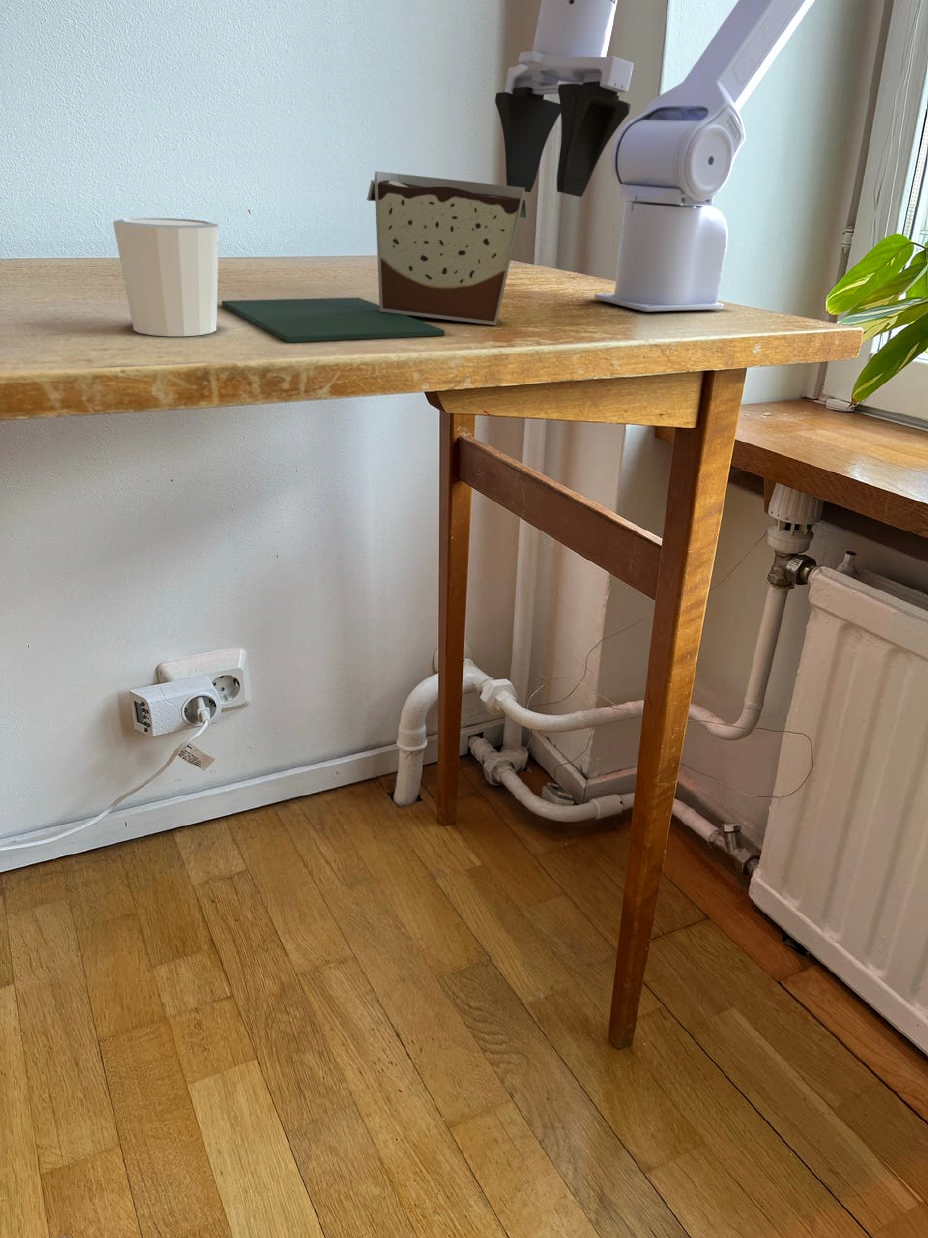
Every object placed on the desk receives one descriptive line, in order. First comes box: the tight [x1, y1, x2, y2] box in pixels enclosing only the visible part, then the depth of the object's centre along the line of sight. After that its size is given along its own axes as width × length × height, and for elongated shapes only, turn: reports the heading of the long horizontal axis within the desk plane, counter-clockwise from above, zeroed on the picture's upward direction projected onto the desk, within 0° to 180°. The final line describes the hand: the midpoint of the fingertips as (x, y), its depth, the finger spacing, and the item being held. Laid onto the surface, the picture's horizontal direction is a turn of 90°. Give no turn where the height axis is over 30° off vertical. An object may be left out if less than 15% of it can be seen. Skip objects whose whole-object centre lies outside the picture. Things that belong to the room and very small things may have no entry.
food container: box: [366, 170, 529, 326], centre depth 75 cm, size 12×6×10 cm, turn 84°
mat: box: [221, 297, 445, 343], centre depth 73 cm, size 12×16×1 cm
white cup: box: [112, 217, 220, 337], centre depth 65 cm, size 7×7×7 cm
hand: (543, 192), depth 77 cm, fingers open, 7 cm apart
